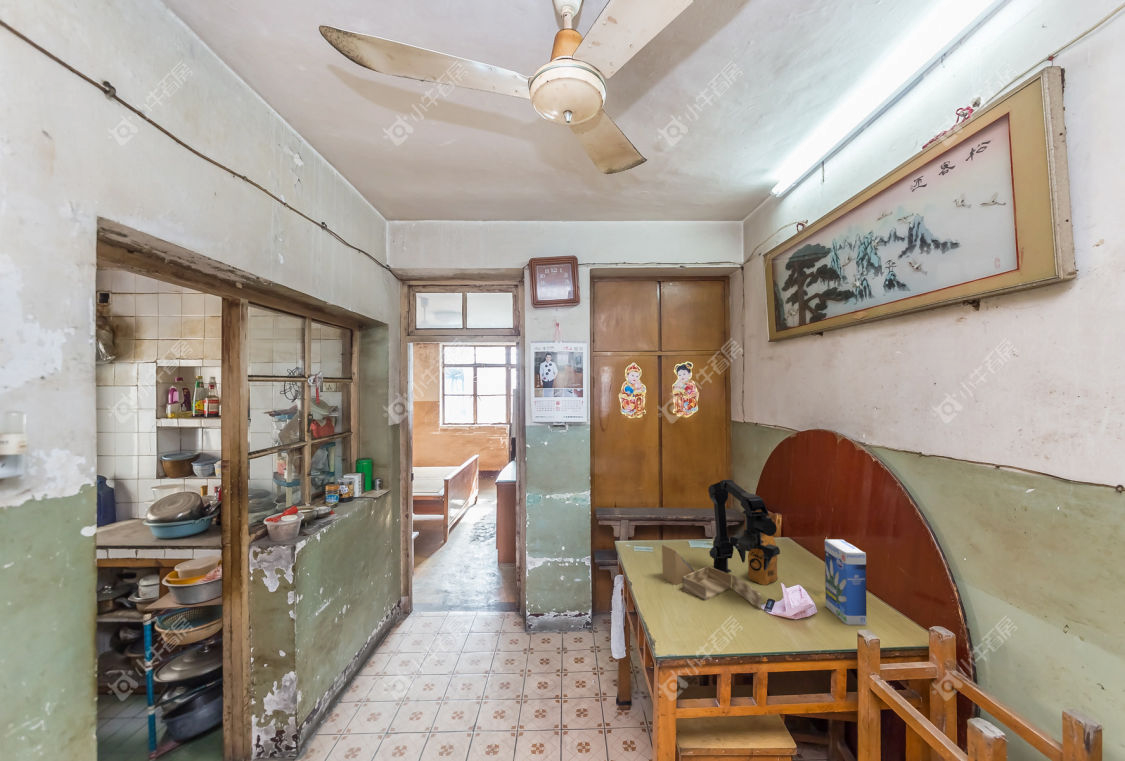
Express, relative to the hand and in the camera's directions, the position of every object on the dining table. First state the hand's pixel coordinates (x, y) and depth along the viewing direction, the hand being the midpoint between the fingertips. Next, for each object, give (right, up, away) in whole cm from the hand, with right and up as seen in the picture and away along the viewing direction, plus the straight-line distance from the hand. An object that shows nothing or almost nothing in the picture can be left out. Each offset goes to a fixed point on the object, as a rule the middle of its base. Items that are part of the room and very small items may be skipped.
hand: (754, 566), depth 172 cm
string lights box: (+27, -12, -15) cm, 33 cm away
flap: (-4, -12, -2) cm, 13 cm away
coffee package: (+10, -12, +15) cm, 22 cm away
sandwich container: (-24, -13, +17) cm, 33 cm away
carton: (-17, -12, +6) cm, 22 cm away
